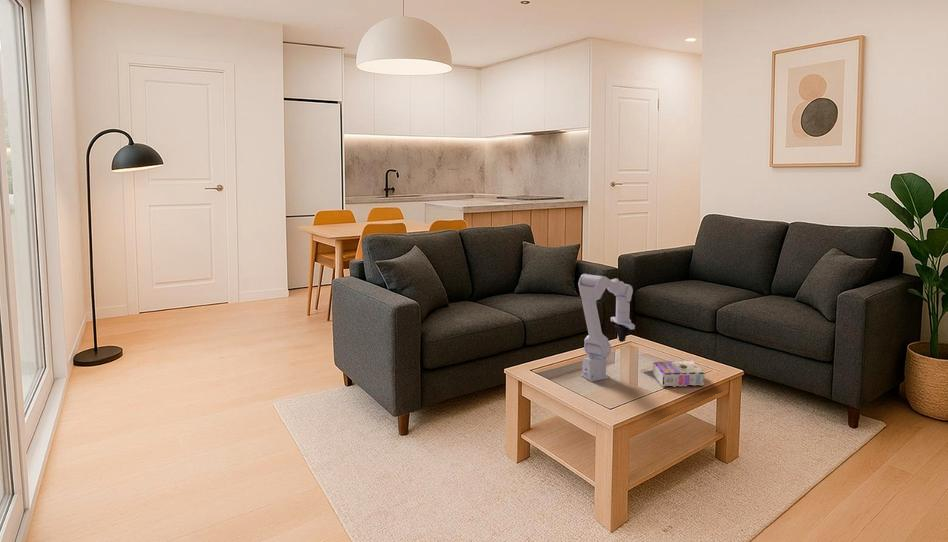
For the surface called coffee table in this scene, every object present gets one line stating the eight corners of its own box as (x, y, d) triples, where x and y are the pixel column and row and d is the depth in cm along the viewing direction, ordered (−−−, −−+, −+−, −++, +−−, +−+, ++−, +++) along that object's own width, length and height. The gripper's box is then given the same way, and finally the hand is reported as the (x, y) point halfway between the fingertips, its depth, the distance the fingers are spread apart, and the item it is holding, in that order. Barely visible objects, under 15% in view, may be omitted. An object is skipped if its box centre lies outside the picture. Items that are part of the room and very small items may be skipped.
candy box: (662, 387, 237) (704, 386, 236) (662, 373, 235) (705, 372, 235) (652, 374, 250) (692, 373, 250) (653, 361, 249) (693, 360, 249)
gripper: (641, 313, 254) (640, 344, 257) (620, 306, 268) (619, 335, 270) (627, 315, 252) (626, 346, 254) (606, 307, 265) (606, 337, 268)
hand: (621, 341), depth 262 cm, fingers closed
